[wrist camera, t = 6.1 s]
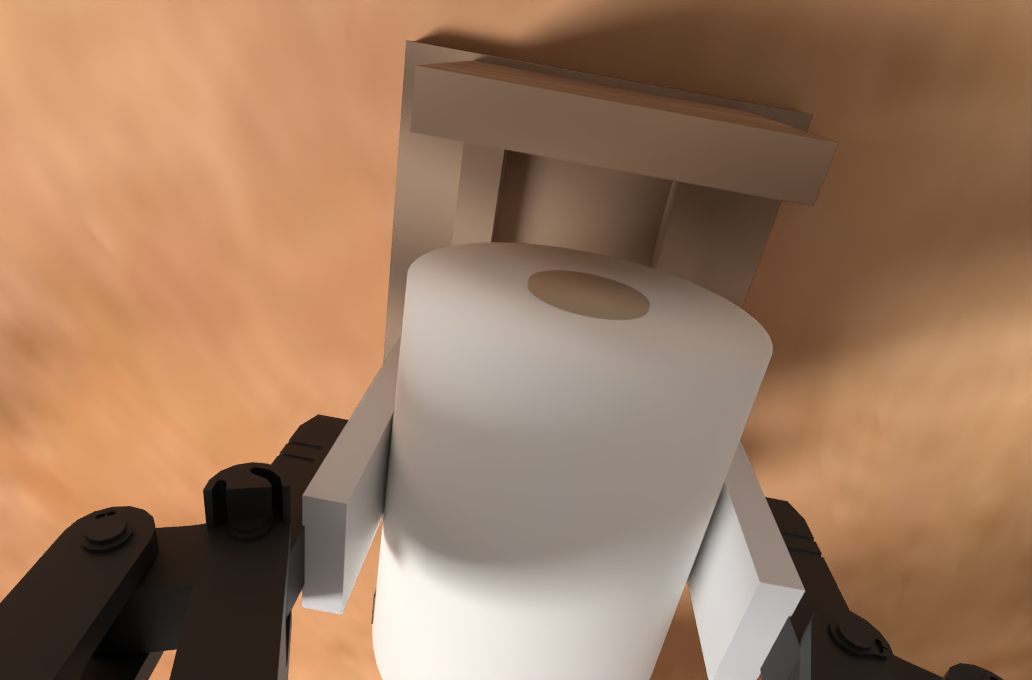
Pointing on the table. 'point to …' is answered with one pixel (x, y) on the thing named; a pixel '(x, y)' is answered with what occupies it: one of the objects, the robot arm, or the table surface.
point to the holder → (590, 169)
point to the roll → (552, 461)
